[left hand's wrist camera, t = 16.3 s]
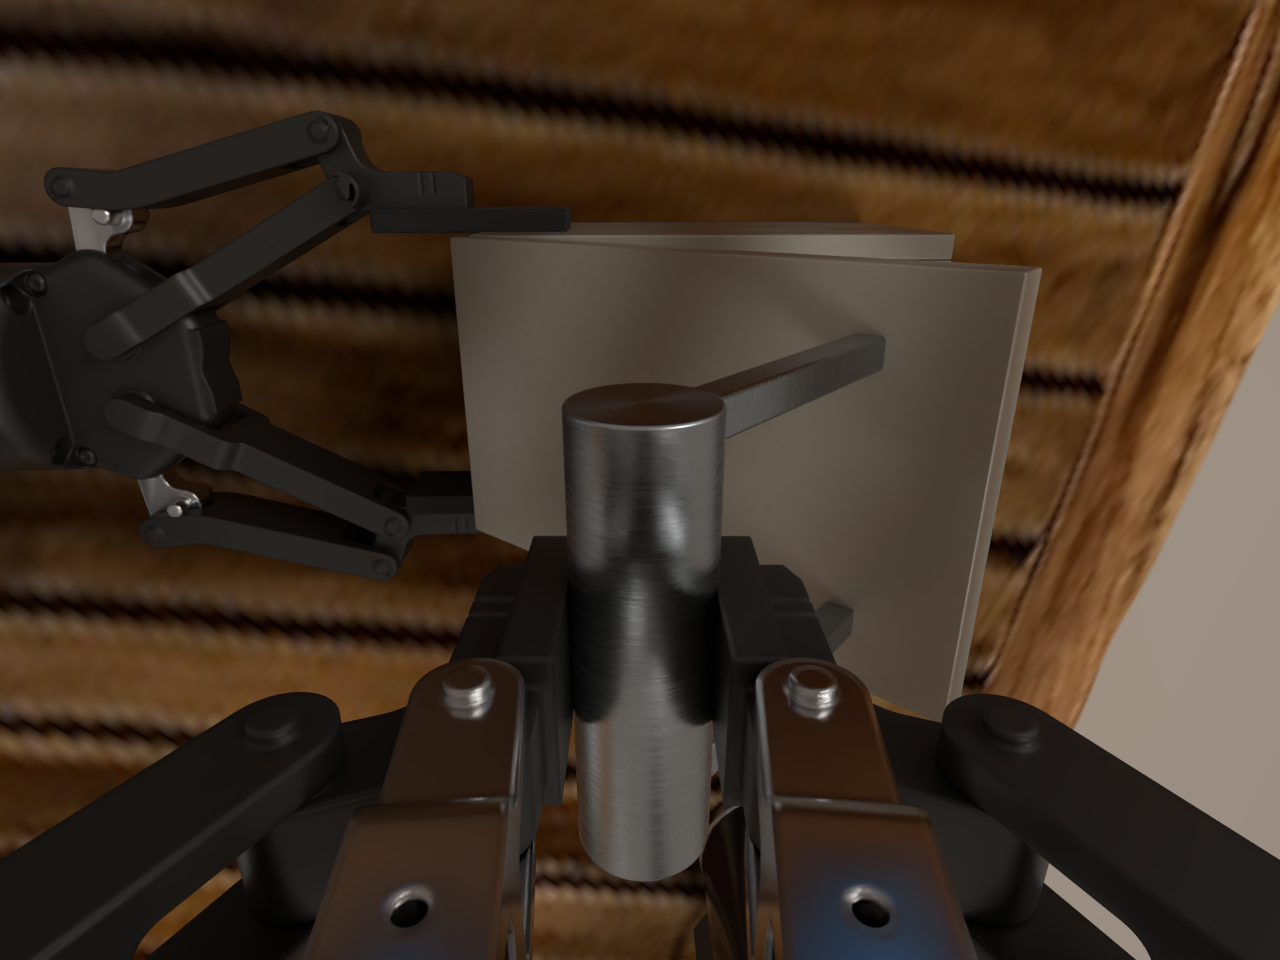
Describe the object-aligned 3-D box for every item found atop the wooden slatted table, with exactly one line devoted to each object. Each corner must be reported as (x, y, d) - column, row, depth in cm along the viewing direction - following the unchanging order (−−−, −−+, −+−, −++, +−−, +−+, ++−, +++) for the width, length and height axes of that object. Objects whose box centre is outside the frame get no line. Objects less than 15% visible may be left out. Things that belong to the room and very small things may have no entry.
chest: (862, 221, 32) (956, 234, 24) (841, 431, 36) (915, 511, 27) (508, 222, 32) (467, 235, 23) (521, 435, 35) (490, 517, 27)
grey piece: (1042, 267, 14) (796, 346, 7) (960, 700, 17) (743, 1037, 10) (478, 235, 23) (138, 255, 16) (500, 519, 26) (228, 632, 20)
